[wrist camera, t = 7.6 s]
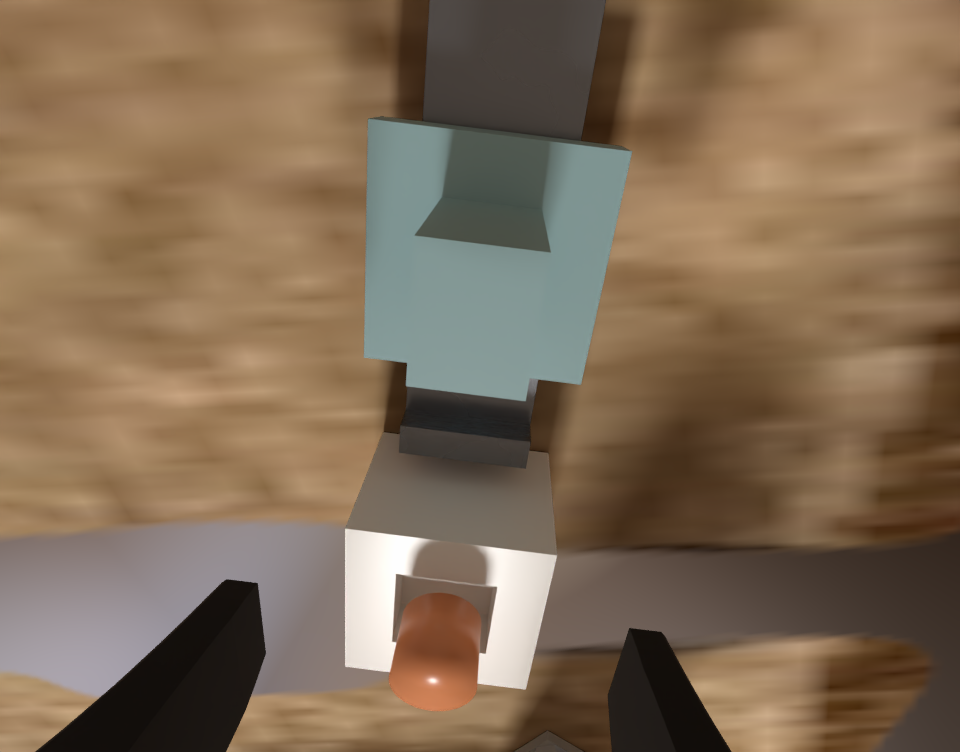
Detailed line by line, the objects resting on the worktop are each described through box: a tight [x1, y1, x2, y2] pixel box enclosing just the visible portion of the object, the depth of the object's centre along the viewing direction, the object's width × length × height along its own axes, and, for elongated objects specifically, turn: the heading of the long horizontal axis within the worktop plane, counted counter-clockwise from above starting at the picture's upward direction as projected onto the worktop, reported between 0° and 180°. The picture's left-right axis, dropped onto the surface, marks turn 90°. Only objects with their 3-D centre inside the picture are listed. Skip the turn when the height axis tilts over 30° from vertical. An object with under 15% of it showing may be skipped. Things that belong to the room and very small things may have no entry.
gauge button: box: [389, 593, 482, 711], centre depth 16 cm, size 2×2×2 cm
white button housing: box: [345, 432, 557, 690], centre depth 19 cm, size 6×6×5 cm
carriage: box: [364, 116, 632, 401], centre depth 13 cm, size 6×6×5 cm
